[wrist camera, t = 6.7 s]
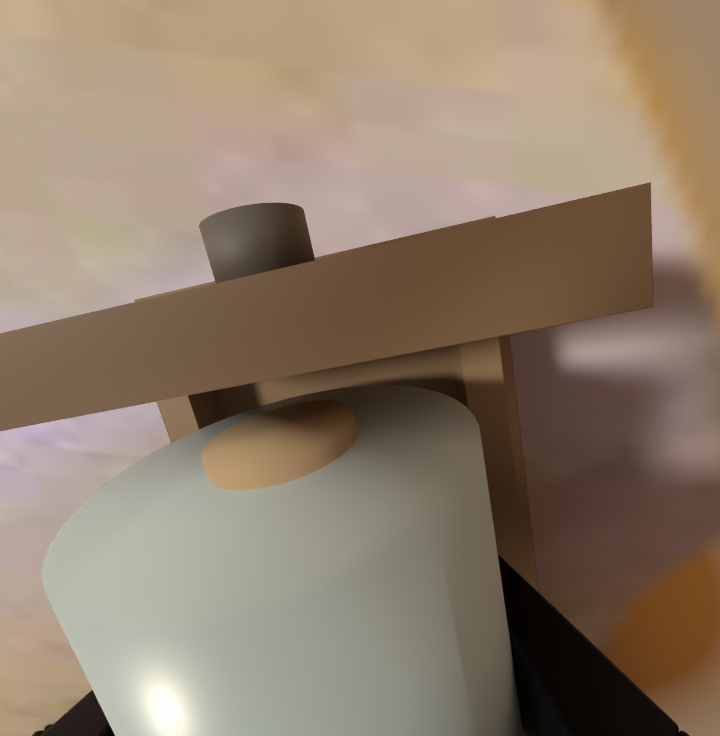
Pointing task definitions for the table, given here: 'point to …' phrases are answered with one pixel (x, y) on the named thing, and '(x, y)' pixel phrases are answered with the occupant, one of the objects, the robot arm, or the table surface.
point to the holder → (347, 326)
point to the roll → (296, 576)
